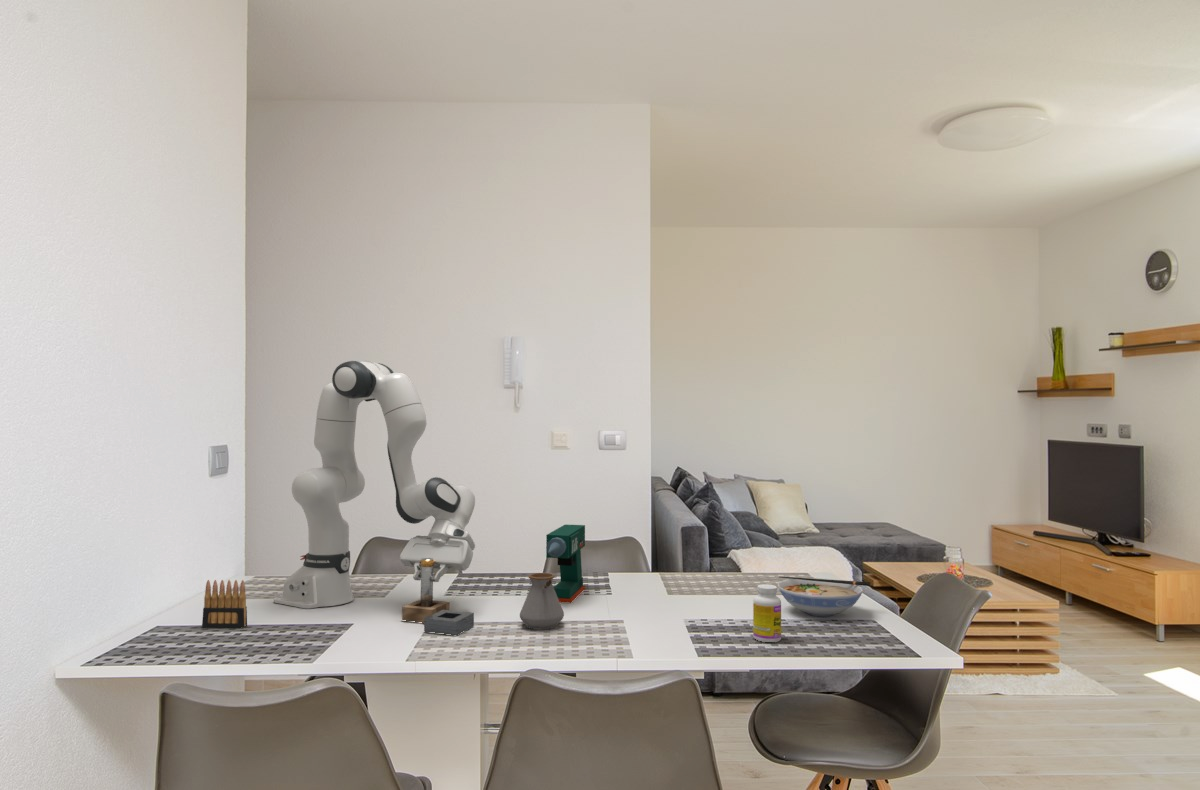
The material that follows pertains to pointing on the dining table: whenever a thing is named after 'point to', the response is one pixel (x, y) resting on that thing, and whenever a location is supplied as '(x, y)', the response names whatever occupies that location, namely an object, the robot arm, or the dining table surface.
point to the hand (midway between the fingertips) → (425, 579)
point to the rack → (422, 610)
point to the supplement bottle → (767, 614)
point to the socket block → (449, 622)
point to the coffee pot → (541, 603)
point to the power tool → (567, 559)
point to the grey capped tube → (426, 582)
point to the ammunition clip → (224, 606)
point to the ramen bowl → (821, 594)
